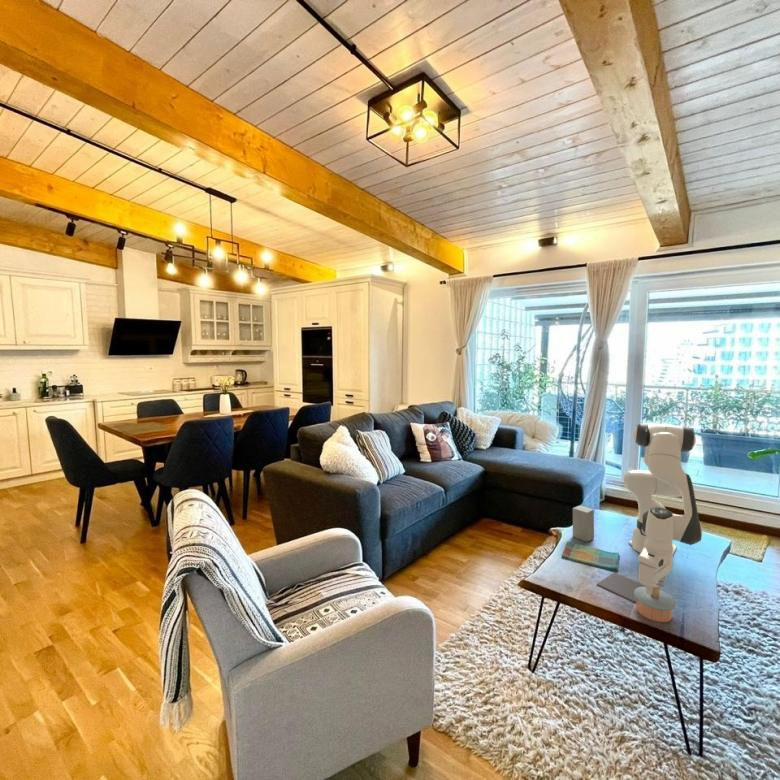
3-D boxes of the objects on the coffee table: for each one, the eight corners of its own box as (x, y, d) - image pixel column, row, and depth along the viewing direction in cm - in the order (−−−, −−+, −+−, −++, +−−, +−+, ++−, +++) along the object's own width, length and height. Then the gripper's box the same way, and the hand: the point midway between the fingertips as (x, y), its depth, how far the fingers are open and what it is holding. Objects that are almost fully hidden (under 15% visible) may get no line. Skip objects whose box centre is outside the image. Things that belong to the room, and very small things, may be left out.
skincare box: (594, 539, 213) (595, 509, 211) (586, 543, 209) (587, 512, 207) (578, 533, 220) (580, 504, 218) (570, 536, 216) (572, 507, 214)
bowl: (644, 599, 161) (645, 587, 161) (676, 614, 153) (677, 601, 152) (630, 610, 155) (631, 597, 155) (663, 625, 146) (664, 612, 146)
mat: (614, 573, 180) (614, 572, 180) (652, 589, 168) (652, 588, 168) (596, 584, 171) (596, 583, 171) (635, 603, 159) (635, 601, 159)
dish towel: (618, 574, 181) (618, 568, 181) (561, 559, 193) (561, 554, 193) (620, 557, 196) (620, 552, 195) (566, 544, 208) (567, 539, 207)
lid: (643, 585, 162) (644, 573, 162) (681, 601, 152) (682, 588, 151) (627, 596, 155) (628, 584, 154) (666, 615, 144) (667, 601, 144)
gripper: (660, 542, 160) (657, 576, 162) (636, 557, 148) (633, 594, 150) (679, 548, 155) (676, 584, 157) (655, 565, 143) (652, 603, 145)
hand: (655, 589), depth 153 cm, fingers open, 8 cm apart
